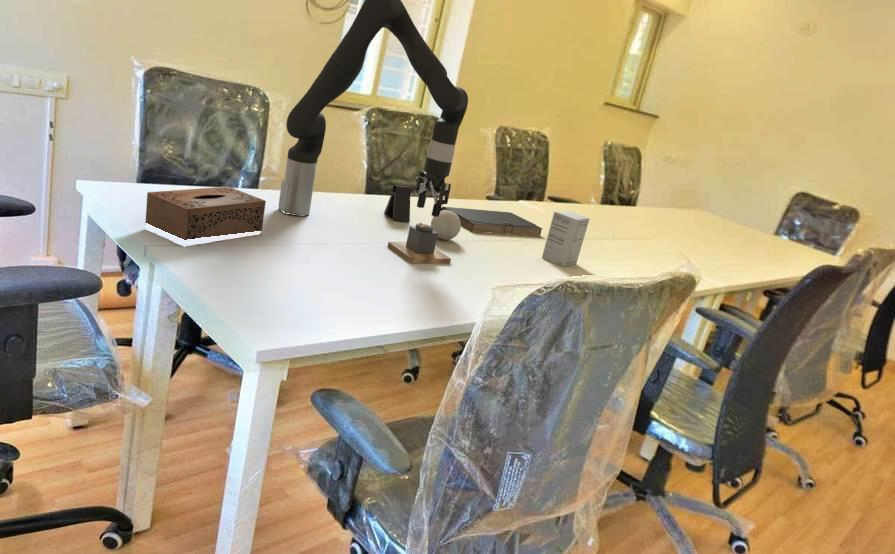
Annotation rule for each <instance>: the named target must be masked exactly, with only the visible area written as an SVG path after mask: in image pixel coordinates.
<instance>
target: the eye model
mask: <svg viewBox="0 0 895 554" xmlns="http://www.w3.org/2000/svg"><path fill="white" fill-rule="evenodd" d="M430 226H432V227H433V230H434V231H435V232H437V233H438V236H437V239H440V240H442V241H443V240H444V241H448V240H449V241H450V240H452V239H454V238H455V237H457V236H458V234H459V232H460V231H461V228H462V226H461V222H460V219H459V217H458V216H457V214H456V213H454V212H452V211H450V210H442V211H440V214H439V216H438V217H433V216H432V219H431V222H430Z"/></svg>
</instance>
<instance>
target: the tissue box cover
mask: <svg viewBox="0 0 895 554" xmlns="http://www.w3.org/2000/svg"><path fill="white" fill-rule="evenodd" d="M146 194H147V195H146V207H145V223H148V224H150V225H152V226H154V227H156V228H159V229H161V230H163V231H165V232H168V233H170V234H172V235H175V236H177V237H179V238H182V239H184V240H187V239H195V238H201V237H211V236H220V235H228V234H237V233H245V232H254V231H262V232H263V226H264V219H265V211H266V209H265V208H266V200H264V199H262V198H260V197H258V196H254V195H252V194H249V193H246V192H244V191H241V190H239V189H236V188H233V187H231V186H217V187H215V186H214V187H204V188H188V189H187V188H186V189H177V190H173V189H172V190H161V191H148V192H147V193H146ZM145 223H144V224H145Z"/></svg>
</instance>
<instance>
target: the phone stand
mask: <svg viewBox="0 0 895 554" xmlns="http://www.w3.org/2000/svg"><path fill="white" fill-rule="evenodd" d="M391 191H392V192H391V194H390V196H389V199H388V202H387V204H386V207H385V210H384V212H383V214H384V215H385V217H387V218H388V219H390V220H391V221H393V222H397V223H410V220H411V219H410V216H411V194H412V187H411V186H410V185H402V184H401V185H400V184H394V185H393V187H392V190H391Z"/></svg>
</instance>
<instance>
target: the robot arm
mask: <svg viewBox="0 0 895 554" xmlns="http://www.w3.org/2000/svg"><path fill="white" fill-rule="evenodd" d="M382 29H387V30H388V31H389V32H390V33H391V34H392V35H393V36H394V37H395V38H396V39H397V40H398V41H399V42H400V44H401V45H402V48H403V50H404V51H405V54H406V56H407V59H408V61H409V63H410V65H411V66H412V68H413V70H414V71H415V73H416V74H417V75H418V77H419V78H420V79H421V80H422V83H424V84H425V86H426V87H427V89H428V91H429V93H430V95H431V97H432V99H433V101H434V102H435V104H436V105H437V106H438V108H439V109H440V110H442V111H441V114H440V117H439V119H437V120H436V121H435V122H434V125H433V130H432V133H431V134H432V135H431V137H430V141H429V145H428V148H427V151H426V152H427V153H426V158H425V162H424V166H423V171H419V173H418V178H417V182H416V186H415V191H417V194H418V198H417V202H416V207H417V208H421V209H423V208H425V204H426V200H427V194H428V193H429V192H430V194H431V196H432V197H433V201H434V203H433V207H432V210H431V217H432V218H433V217H438V216H439V214H440V211H441V208H442V207H443V205H447V204H449V203H448V201H449V198H450V193H451V187H452V184H451V183H447V182H446V181H445V180H446V178H448V177H449V176H450V173H451V168H452V164H453V159H454V155H455V149H456V148H455V147H456V143H457V138H458V134H459V129H460V126H461V124H462V122H463V119H464V117H465V115H466V113H467V109H468V104H469V96H468V93H467V91H466V90H465V89H463V88H462V87H461V86H460V87H459V86H455V85H454V83H452V81H451V80H450V78H449V76H448V71H447V69H446V67H445V66H444V65H443V63H442V62H441V61H440V60H439V58H438V57H437V55H436V54H435V53H434V52H433V50H432V49H431V48H430V46H429V45H428V44H427V42H426V41H425V39H424V38H423V36H422V35H421V33H420V32H419V30H418V28H417V27H416V25H415V23H414V21H413V19H412V18H411V16H410V14H409V12H408V10H407V8H406V7H405V5H404V3H403V1H402V0H364V1H363V3H362V4H361V7H360V9H359V11H358V13H357V15H356V16H355V18H354V20H353V21H352V24H351V25H350V27H349V29H348V30H347V32H346V34H345V35H344V37H343V38H342V39H341V41H340V43H339V44H338V46H337V47H336V49H335V50H334V51H333V53H332V54H331V56H330V57H329V59H328V60H327V62H326V63H325V65H324V66H323V68H322V69H321V71H320V72H319V74H318V76H316V78H315V79H314V82H313V83H312V84H311V86H310V87H309V88H308V90H307V91H306V93H305V94H304V95H303V96H302V98H300V100H299V101H298V102H297V103H296V104H295V106H294V107H293V108H292V109H291V111H290V112H289V114H288V116H287V118H286V124H285V125H286V131H287V133H288V134H289V135H290V136H291V137H292V138H295V139H297V142H296V143H295V144H294V145H293V146H291V147H290V148H289V149H288V152H287V155H286V157H287V158H286V165H285V171H284V180H283V179H282V180H281V186H280V192H279V198H278V199H279V200H278V207H279V208H280V209H281V210H282V211H284V212H285V213H290V214H295V215H304V216H303V217H306V216H305V215H308V216H309V215H310V212H311V205H312V199H313V198H312V197H313V194H314V193H313V192H314V185H315V179H316V172H317V165H318V161H319V160H318V159H319V157H320V156H321V153H322V149H323V145H324V141H325V135H326V129H327V127H326V126H327V122H326V117H325V115H324V114H323V112H322V111H323V110H324V109H325V108H326V107H327V106H328V105H329V104H330V103H332V102H333V101H335V100H336V99H337V98H339V97H341V96H342V95H343V94H344V93H345V92H347V90H349V88H350V87H351V85H352V84H353V83H354V82H355V80H356V79H357V77H358V76H359V75H360V73H361V71H362V70H363V66H364V63H365V60H366V55H367V51H368V48H369V47H370V44H371V43H372V41H373V40H374V38H375V37H377V36H376V35H377V34H378V33H379V32H380V31H381V30H382Z"/></svg>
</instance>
